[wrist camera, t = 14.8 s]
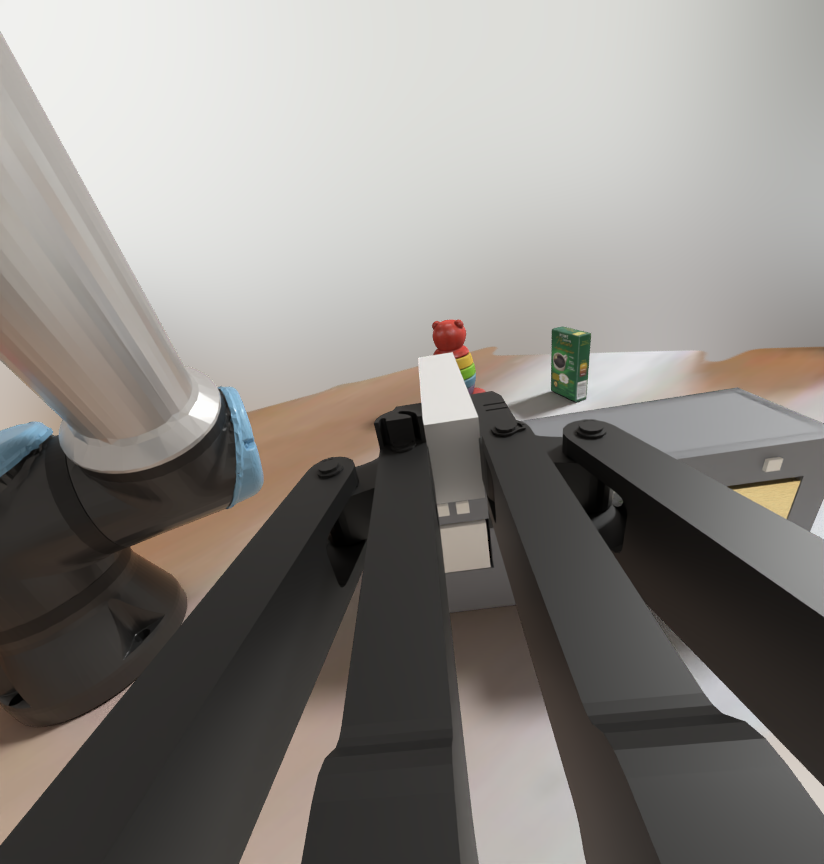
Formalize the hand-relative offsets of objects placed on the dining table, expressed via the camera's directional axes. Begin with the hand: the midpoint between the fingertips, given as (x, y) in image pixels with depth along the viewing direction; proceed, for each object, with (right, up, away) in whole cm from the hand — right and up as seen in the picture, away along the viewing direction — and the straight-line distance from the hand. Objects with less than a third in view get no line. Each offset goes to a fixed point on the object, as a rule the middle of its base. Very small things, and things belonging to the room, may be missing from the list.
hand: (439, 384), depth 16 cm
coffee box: (+30, +5, +57) cm, 65 cm away
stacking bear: (+9, +4, +64) cm, 65 cm away
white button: (+3, -13, +18) cm, 23 cm away
